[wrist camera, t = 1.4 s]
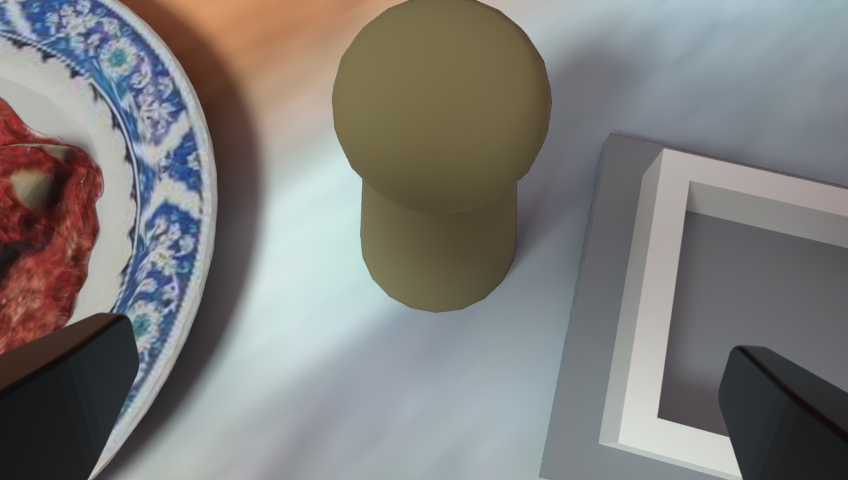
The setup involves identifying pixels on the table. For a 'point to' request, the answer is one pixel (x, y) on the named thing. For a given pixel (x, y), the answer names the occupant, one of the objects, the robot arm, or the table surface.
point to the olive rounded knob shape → (440, 145)
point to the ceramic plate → (101, 185)
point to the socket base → (690, 307)
